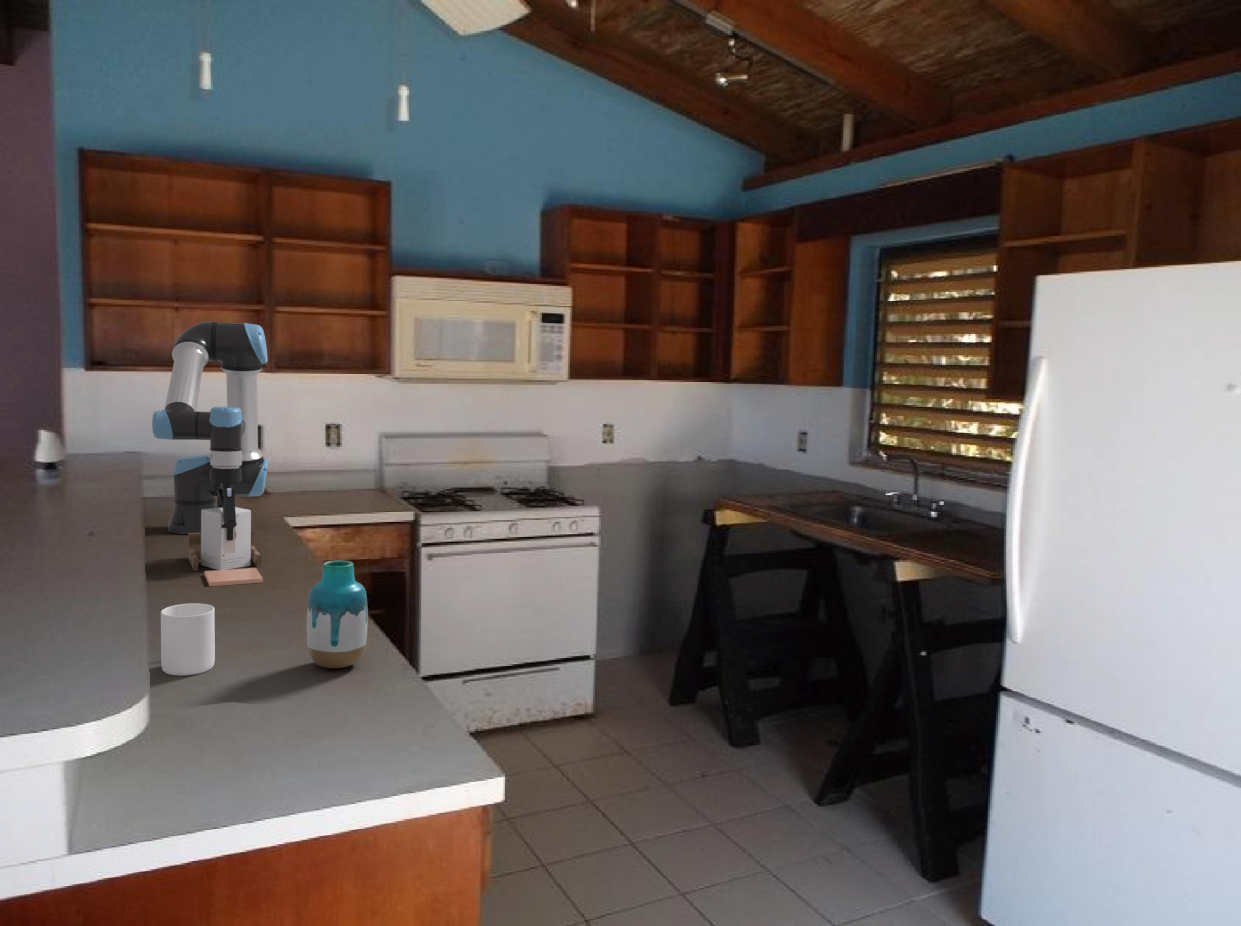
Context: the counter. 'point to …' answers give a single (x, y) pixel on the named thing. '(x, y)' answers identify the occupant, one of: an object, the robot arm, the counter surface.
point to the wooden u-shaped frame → (195, 550)
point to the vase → (337, 617)
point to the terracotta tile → (233, 577)
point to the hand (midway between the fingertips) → (226, 547)
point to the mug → (187, 639)
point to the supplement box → (214, 539)
